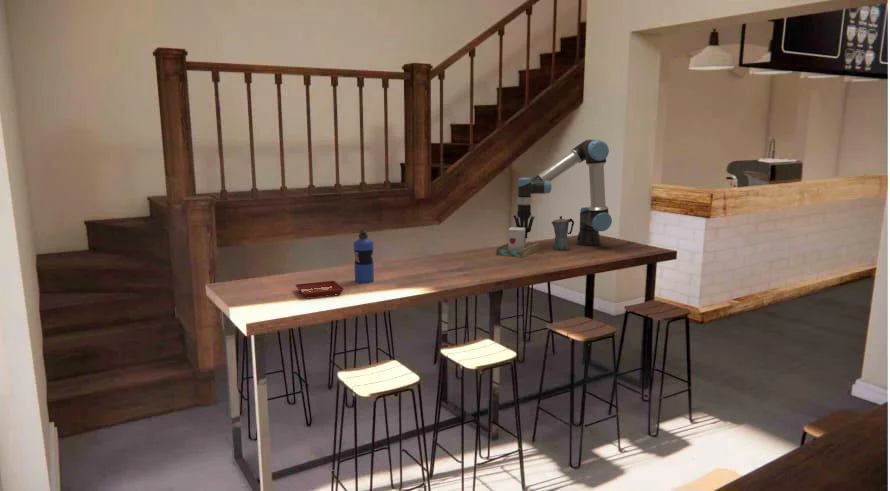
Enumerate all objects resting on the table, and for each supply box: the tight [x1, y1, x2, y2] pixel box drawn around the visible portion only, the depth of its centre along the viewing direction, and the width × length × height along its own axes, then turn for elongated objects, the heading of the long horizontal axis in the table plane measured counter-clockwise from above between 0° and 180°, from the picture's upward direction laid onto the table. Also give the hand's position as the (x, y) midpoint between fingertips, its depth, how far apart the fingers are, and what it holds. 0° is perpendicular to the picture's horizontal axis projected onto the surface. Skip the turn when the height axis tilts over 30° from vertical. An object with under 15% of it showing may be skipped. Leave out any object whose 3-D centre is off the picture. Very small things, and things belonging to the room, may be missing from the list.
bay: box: [496, 242, 541, 258], centre depth 372 cm, size 16×24×4 cm
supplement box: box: [507, 226, 526, 252], centre depth 367 cm, size 9×9×15 cm
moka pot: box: [551, 215, 575, 251], centre depth 380 cm, size 10×15×20 cm, turn 115°
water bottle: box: [353, 229, 375, 284], centre depth 302 cm, size 9×9×25 cm
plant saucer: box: [295, 280, 345, 298], centre depth 284 cm, size 18×18×3 cm
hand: (523, 243), depth 377 cm, fingers closed
